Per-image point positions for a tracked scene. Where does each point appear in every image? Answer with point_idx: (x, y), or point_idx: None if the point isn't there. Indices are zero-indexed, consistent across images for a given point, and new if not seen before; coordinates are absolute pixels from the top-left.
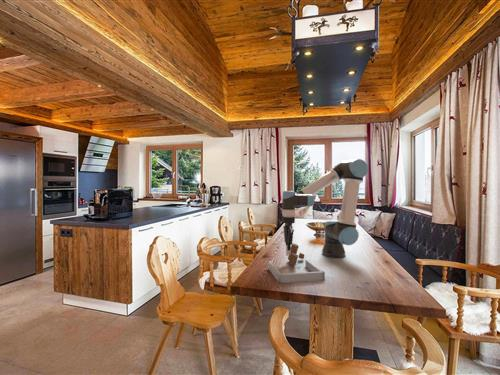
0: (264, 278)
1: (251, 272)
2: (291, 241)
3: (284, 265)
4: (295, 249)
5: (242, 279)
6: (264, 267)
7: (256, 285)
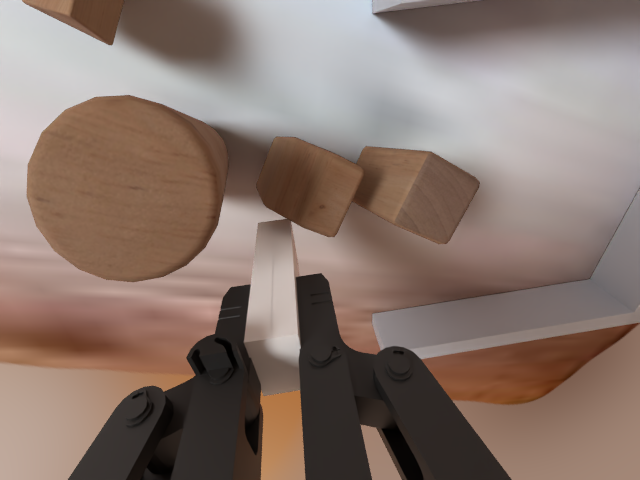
0: None
1: None
2: (460, 432)
3: None
4: (222, 170)
5: (479, 397)
6: (346, 341)
7: (561, 360)
